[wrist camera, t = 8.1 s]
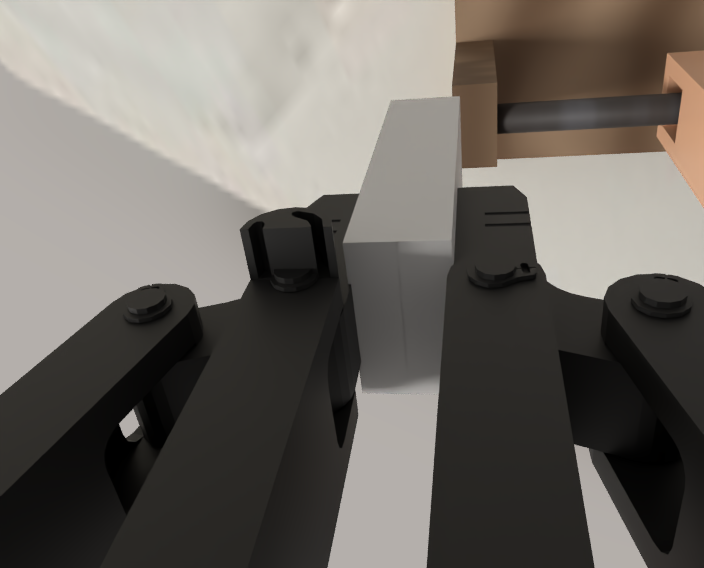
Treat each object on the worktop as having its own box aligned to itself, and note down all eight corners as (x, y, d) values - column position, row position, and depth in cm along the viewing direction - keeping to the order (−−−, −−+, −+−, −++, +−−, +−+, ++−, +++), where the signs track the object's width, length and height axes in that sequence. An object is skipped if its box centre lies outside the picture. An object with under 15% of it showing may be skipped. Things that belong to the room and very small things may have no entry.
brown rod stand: (906, -63, 33) (1061, -35, 24) (850, 132, 38) (962, 214, 30) (455, -20, 37) (449, 18, 28) (459, 151, 42) (456, 228, 34)
